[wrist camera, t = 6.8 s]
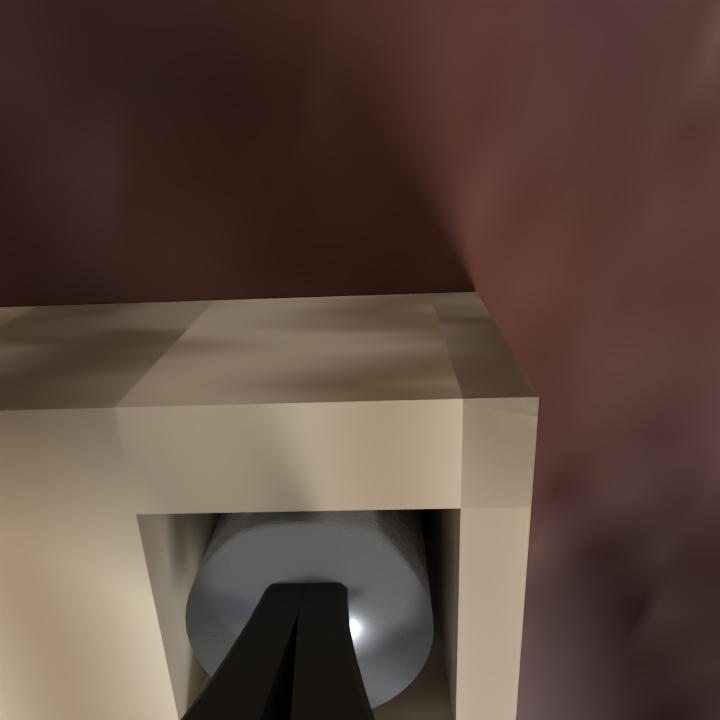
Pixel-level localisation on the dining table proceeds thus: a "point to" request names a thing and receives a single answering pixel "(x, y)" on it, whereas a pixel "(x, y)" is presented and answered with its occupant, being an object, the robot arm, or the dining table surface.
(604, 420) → the dining table surface
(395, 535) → the peg
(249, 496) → the block
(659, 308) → the dining table surface
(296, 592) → the robot arm
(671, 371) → the dining table surface
